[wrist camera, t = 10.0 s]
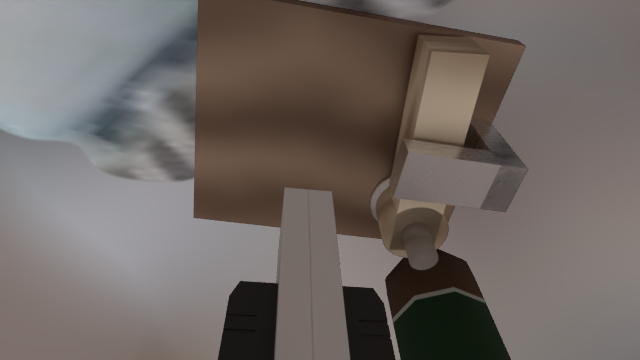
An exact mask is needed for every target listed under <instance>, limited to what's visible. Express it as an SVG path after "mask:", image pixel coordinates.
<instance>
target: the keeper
mask: <svg viewBox="0 0 640 360" xmlns="http://www.w3.org/2000/svg"><path fill="white" fill-rule="evenodd" d="M527 171H528V168H527V167H526V166H525V164H524V163H523V162H522V161H521V159H520V158H519V157H518V156H517V154H516V153H515V152H514V151H513V149H512V148H511V147H510V146H509V145H508V143H507V142H506V141H505V140H504V138H503V137H502V136H501V135H500V133H499V132H498V131H497V130H496V128H495V127H494V126H493V125H492V123H491V122H490V121H485V120H478V119H472V118H471V121H470V125H469V128H468V131H467V135H466V138H465V142H464V145H463V147H459V146H452V145H445V144H438V143H431V142H424V141H417V140H410V139H403V140H402V143H401V146H400V149H399V152H398V155H397V158H396V162H395V165H394V168H393V171H392V174H390V175H388V176H387V177H385V178H383V179H382V180H381V181H380V182H379V183H378V184H377V185H376V186H375V187H374V189H373V191H372V193H371V196H370V207H371V212H372V214H373V216H374V218H375V219H376V220H377V221H378V219H377V215H376V209H375V207H376V202H377V199H378V197H379V196H380V194H381V193H382V192H383V191H384V190H385V189H387V188H388V187H389V186H390V189H391V192H392V196H393V198H398V199H406V200H414V201H422V202H430V203H438V204H446V205H453V206H462V207H469V208H478V209H486V210H493V211H501V212H506V210H507V209H508V206H509V205H510V203H511V201H512V199H513V197H514V195H515V193H516V192H517V189H518V188H519V186H520V184H521V182H522V180H523V178H524V176H525V175H526V173H527Z"/></svg>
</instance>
